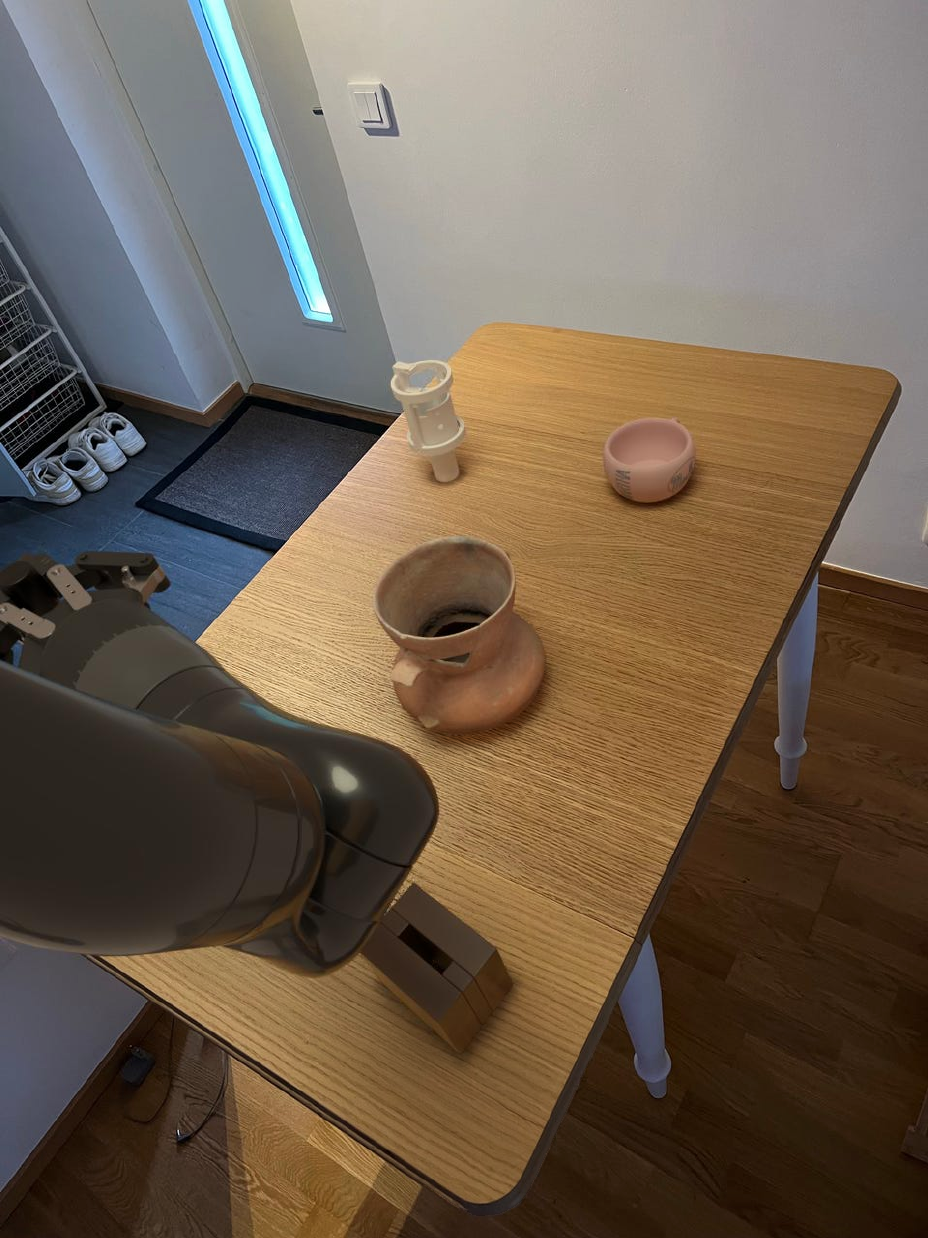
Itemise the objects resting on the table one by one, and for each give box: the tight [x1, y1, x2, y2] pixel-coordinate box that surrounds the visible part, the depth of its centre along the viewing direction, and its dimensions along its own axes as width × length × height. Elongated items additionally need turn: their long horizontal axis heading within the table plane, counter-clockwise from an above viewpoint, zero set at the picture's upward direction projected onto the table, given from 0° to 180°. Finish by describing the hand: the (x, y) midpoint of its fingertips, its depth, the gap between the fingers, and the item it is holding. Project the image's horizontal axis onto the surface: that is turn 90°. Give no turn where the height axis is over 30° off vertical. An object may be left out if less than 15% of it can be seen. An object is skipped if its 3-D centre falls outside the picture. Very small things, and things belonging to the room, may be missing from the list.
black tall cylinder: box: [0, 560, 62, 617], centre depth 59 cm, size 2×3×17 cm
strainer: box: [390, 359, 467, 483], centre depth 98 cm, size 7×7×15 cm
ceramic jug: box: [372, 535, 547, 736], centre depth 75 cm, size 18×14×14 cm
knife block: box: [358, 882, 514, 1055], centre depth 59 cm, size 6×8×7 cm
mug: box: [602, 417, 697, 503], centre depth 93 cm, size 12×10×6 cm
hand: (11, 578), depth 56 cm, fingers closed on black tall cylinder, 2 cm apart
